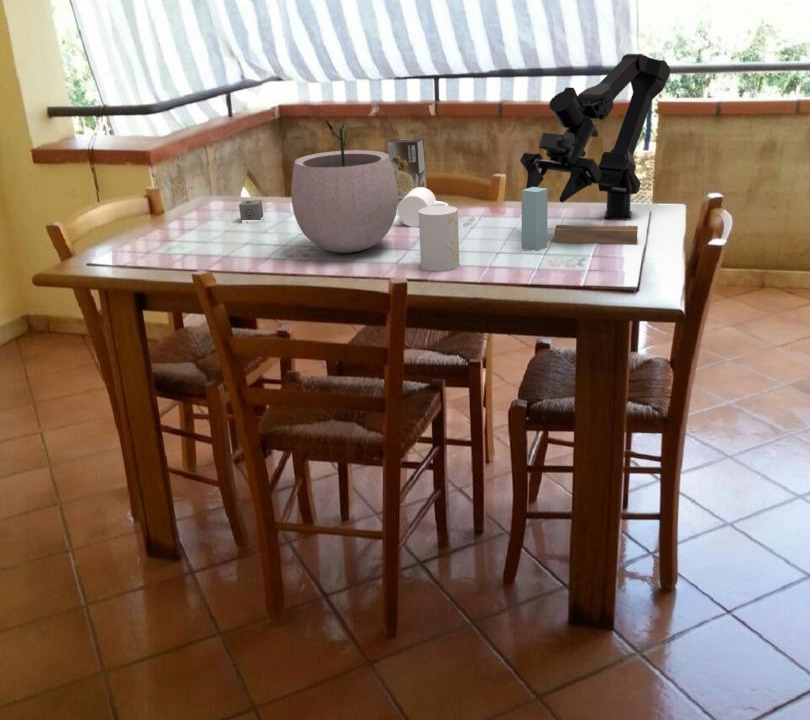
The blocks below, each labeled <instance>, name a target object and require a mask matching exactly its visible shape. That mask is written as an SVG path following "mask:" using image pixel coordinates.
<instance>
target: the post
mask: <svg viewBox="0 0 810 720" xmlns="http://www.w3.org/2000/svg"><path fill="white" fill-rule="evenodd" d="M548 193H549V190H548V188H546V187H545V188H543V187H539V186H538V187H531V188H527V189H526V188H525V189H521V249H524V250H528V251H533V250H534V252H537V250H538V251H540V250H542V249H545V248H548V207H549V206H548V205H549V203H548V201H549V199H548V197H549V196H548V195H549V194H548Z"/></svg>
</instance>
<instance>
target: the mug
mask: <svg viewBox="0 0 810 720" xmlns="http://www.w3.org/2000/svg"><path fill="white" fill-rule="evenodd" d="M430 206H449V203H447V202H444V201H440V200H439V201H438V200H437V199H436V197H435V194H434V192H432V190H430V189H428V188H427V187H426V188H424V187H417V188H414V189H413V190H411V191H410V192H409V193H408V194H407V195H406V196H405V197H404V199H401V200H400V202H399V203H398V206H397V213H398V216H399V217H398V218H399V219H400V221H401V222H402V223H403V224H404V225H405V226H408V227H410V228H419V212H418V211H419V210H420V209H422V208H425V207H430Z"/></svg>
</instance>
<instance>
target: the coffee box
mask: <svg viewBox="0 0 810 720" xmlns="http://www.w3.org/2000/svg"><path fill="white" fill-rule="evenodd" d="M387 152H388V153H387V154H388V155H389V158H390V161H391V164H392V167H393V170H394V174H395V178H396V183H397V189H398V200H403V199H404V197H405V196H406V195H407V194H408V193H409V192H410V191H411V190H413V189H414V188H417V187H424V188H427V177H426V176H427V175H426V158H425V155H426V154H425V138H393V139H391V140H389V141H388V142H387Z"/></svg>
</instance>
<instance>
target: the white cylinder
mask: <svg viewBox="0 0 810 720" xmlns="http://www.w3.org/2000/svg"><path fill="white" fill-rule="evenodd" d="M418 212H419V227H418V228H419V229H418V230H419V231H418V232H419V247H420V248H419V252H420V254H419V255H420V268H421V269H422V270H424V271H426V270H429V271H428V272H432V271H443V272H447V271H446V270H450V271H452V270H451V269H454V270H456V269H458V268H460V245H459V244H460V243H459V242H460V241H459V238H460V237H459V210H458V208H457V207H455V206H452V205H450V206H430V207H425V208H422V209H420V210H419V211H418ZM457 267H458V268H457ZM455 268H456V269H455Z"/></svg>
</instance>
